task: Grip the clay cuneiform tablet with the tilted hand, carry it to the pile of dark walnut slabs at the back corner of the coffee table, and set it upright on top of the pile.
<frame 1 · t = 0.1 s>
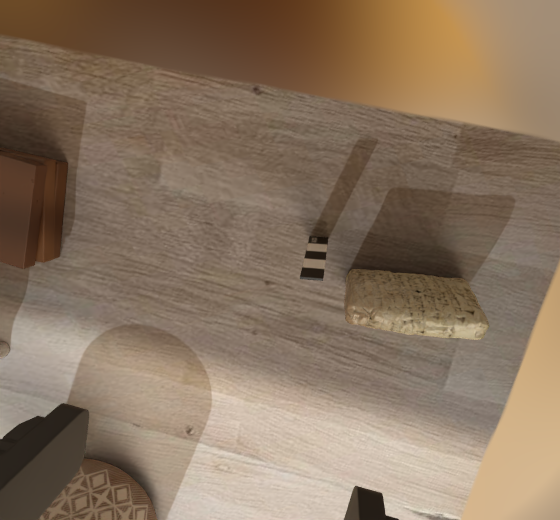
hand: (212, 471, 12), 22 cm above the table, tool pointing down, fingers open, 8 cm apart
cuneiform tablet: (384, 275, 33), on the table
slab pile: (3, 196, 35), on the table
planter: (101, 506, 41), on the table
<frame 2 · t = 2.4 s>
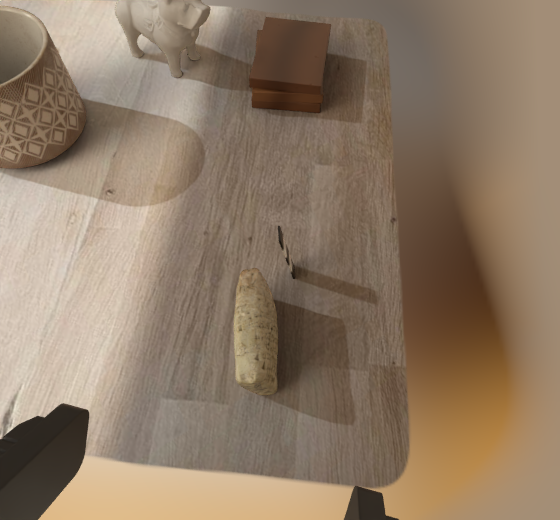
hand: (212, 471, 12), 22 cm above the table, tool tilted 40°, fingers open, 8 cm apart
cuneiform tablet: (268, 327, 38), on the table
slab pile: (289, 78, 52), on the table
planter: (33, 132, 48), on the table
dog figurine: (174, 59, 54), on the table
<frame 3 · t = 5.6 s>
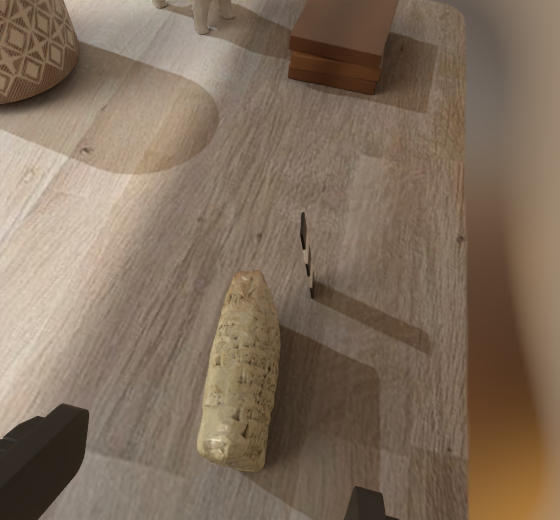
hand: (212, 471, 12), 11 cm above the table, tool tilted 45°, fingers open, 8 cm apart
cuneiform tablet: (265, 363, 25), on the table
slab pile: (340, 52, 42), on the table
planter: (11, 70, 38), on the table
dog figurine: (202, 15, 44), on the table
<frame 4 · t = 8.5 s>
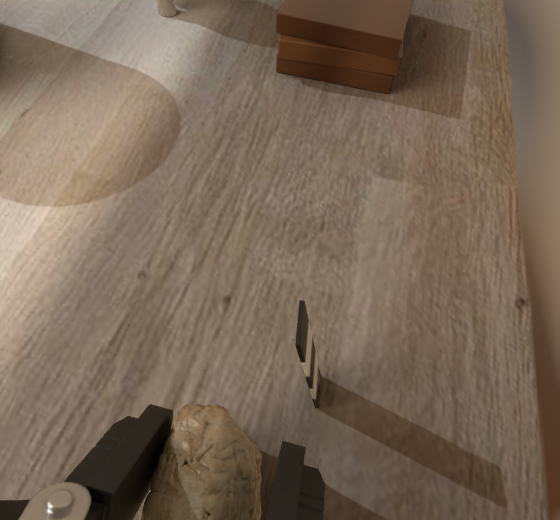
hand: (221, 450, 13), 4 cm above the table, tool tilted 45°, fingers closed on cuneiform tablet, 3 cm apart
slab pile: (344, 39, 32), on the table
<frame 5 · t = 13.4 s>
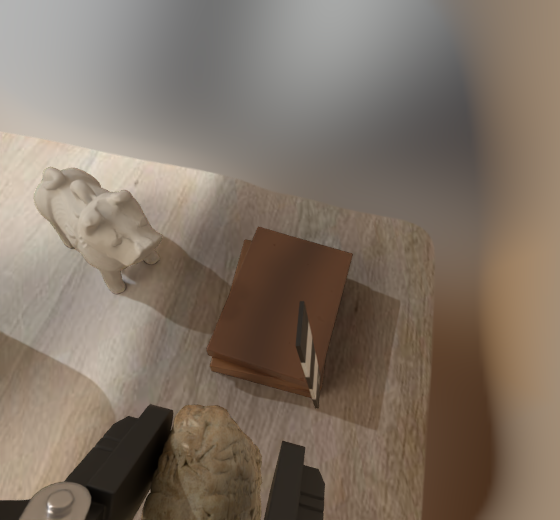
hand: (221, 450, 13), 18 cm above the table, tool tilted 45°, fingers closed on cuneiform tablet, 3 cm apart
slab pile: (280, 319, 35), on the table
dog figurine: (121, 257, 37), on the table
when the fingers open (8 cm above the table, at t = 18.2 s): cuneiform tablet stays where it is, resting on slab pile.
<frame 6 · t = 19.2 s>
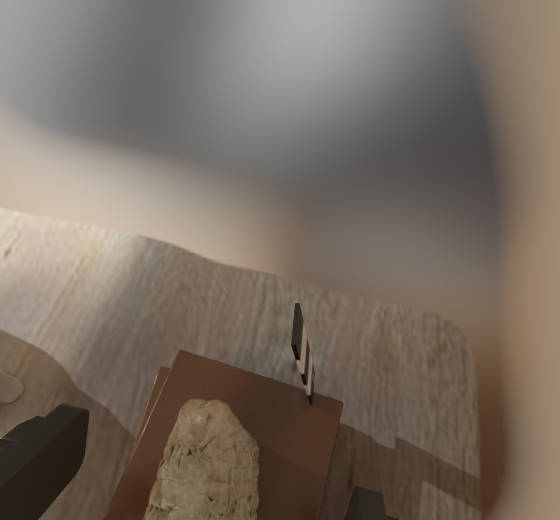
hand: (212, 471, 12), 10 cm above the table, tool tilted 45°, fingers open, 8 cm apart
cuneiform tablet: (237, 513, 17), point 4 cm above the table, touching slab pile
slab pile: (219, 509, 20), on the table
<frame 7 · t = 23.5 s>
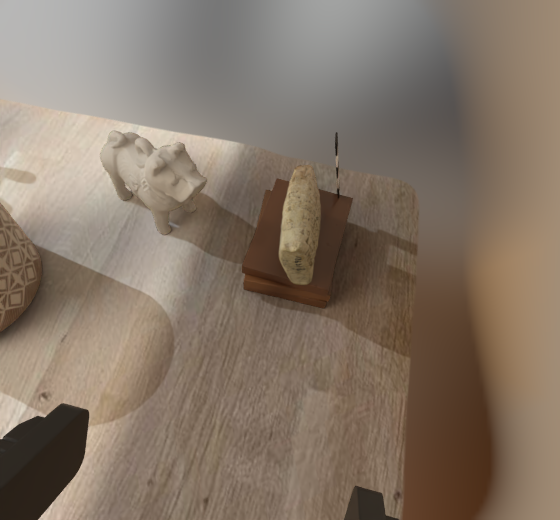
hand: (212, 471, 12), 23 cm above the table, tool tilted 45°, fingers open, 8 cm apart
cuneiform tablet: (309, 233, 40), point 4 cm above the table, touching slab pile
slab pile: (295, 252, 43), on the table
dog figurine: (165, 207, 46), on the table
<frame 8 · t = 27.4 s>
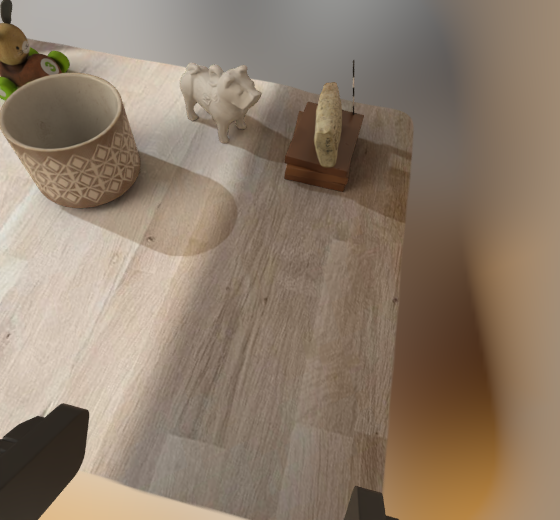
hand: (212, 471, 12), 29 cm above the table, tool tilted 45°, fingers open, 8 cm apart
toy car: (37, 85, 63), on the table
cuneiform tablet: (332, 137, 56), point 4 cm above the table, touching slab pile
slab pile: (321, 156, 59), on the table
planter: (93, 175, 55), on the table
dog figurine: (223, 126, 61), on the table
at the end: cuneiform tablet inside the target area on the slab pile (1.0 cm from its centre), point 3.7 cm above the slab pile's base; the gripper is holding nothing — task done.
